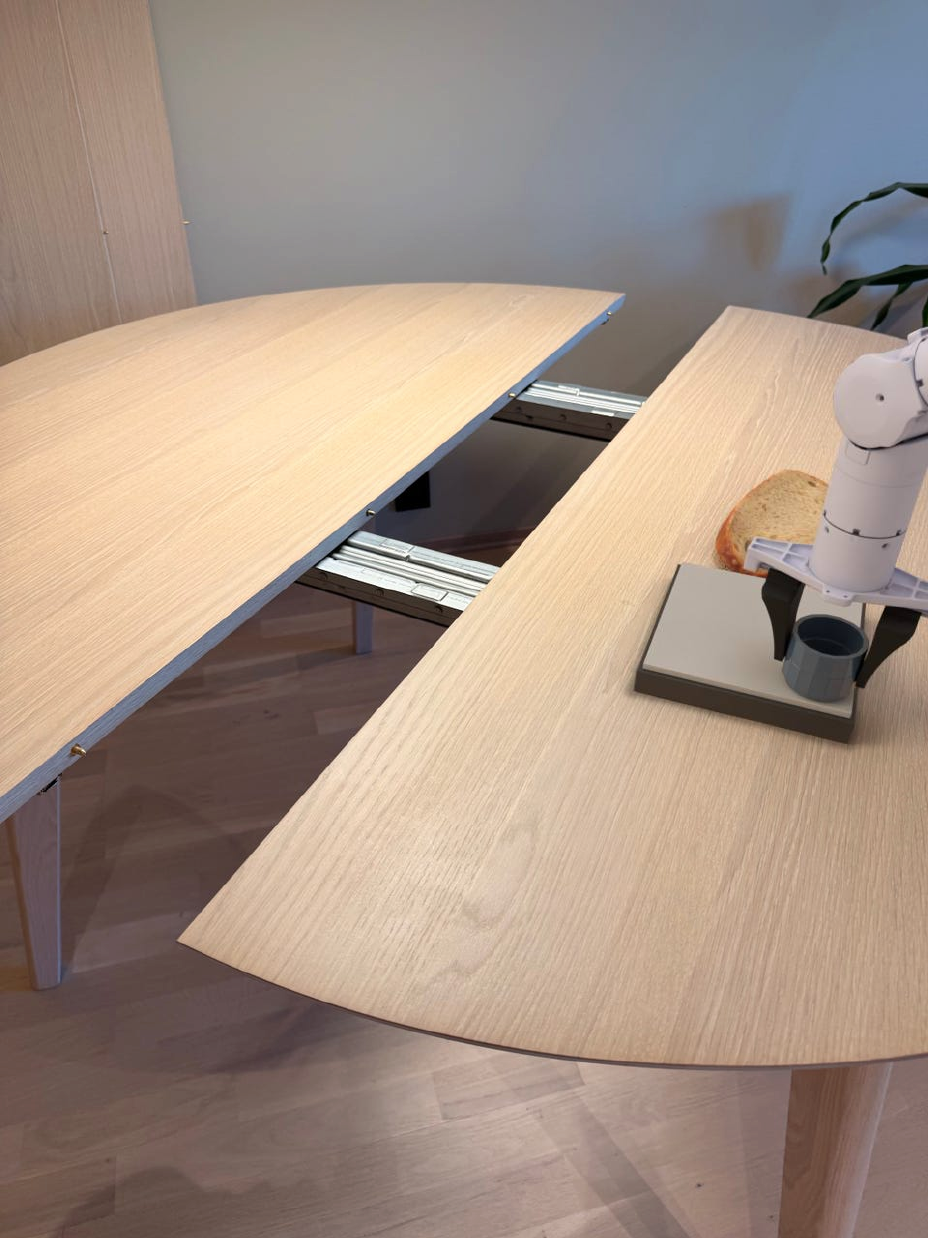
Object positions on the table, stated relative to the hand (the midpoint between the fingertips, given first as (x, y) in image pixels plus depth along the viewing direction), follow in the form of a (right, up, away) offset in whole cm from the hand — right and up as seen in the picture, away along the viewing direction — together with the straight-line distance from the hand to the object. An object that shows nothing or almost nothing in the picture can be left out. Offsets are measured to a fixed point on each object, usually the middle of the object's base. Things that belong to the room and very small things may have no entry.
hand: (820, 666), depth 74 cm
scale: (-3, +1, +8) cm, 9 cm away
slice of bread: (+5, +13, +24) cm, 28 cm away
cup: (0, -1, +1) cm, 1 cm away
